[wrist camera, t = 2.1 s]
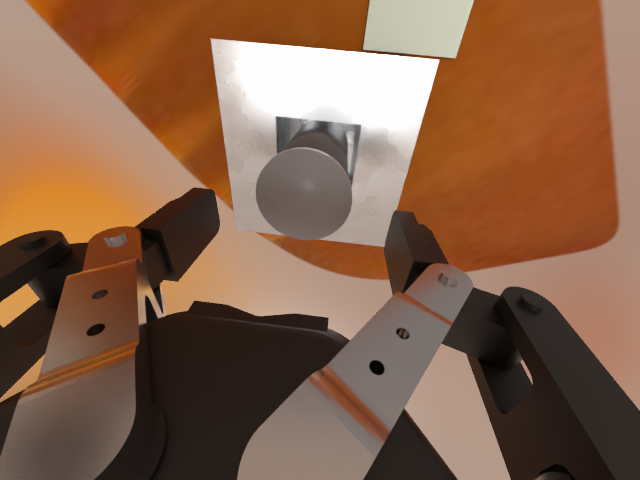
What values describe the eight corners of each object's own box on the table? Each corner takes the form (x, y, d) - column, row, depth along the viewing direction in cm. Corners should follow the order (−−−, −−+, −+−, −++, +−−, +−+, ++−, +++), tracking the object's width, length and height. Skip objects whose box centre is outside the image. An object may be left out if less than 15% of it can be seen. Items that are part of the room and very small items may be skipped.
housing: (259, 196, 27) (236, 229, 22) (249, 47, 20) (210, 38, 14) (377, 209, 27) (385, 247, 21) (412, 62, 20) (439, 59, 14)
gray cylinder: (292, 170, 23) (258, 234, 14) (293, 111, 20) (251, 145, 11) (345, 176, 23) (345, 245, 14) (354, 117, 20) (359, 156, 11)
